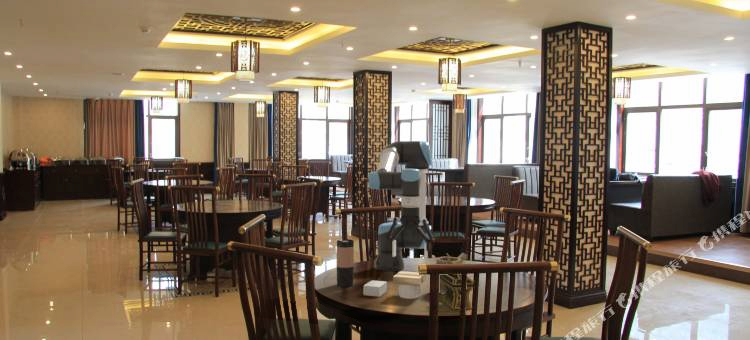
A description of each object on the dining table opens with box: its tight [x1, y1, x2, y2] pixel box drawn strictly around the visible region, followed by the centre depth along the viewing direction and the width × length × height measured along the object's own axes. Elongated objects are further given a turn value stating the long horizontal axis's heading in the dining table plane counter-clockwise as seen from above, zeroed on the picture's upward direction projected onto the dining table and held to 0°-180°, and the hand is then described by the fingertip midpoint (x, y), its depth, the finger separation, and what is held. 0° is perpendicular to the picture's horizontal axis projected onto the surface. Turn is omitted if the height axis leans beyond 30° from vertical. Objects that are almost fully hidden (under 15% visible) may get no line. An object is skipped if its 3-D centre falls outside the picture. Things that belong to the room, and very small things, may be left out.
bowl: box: [398, 284, 421, 300], centre depth 233 cm, size 9×9×6 cm
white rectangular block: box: [363, 279, 388, 298], centre depth 238 cm, size 10×7×4 cm
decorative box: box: [440, 252, 474, 310], centre depth 222 cm, size 20×10×20 cm, turn 13°
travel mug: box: [336, 238, 355, 288], centre depth 251 cm, size 8×8×20 cm
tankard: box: [435, 252, 468, 294], centre depth 244 cm, size 20×13×15 cm, turn 136°
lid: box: [392, 270, 427, 287], centre depth 233 cm, size 11×11×3 cm
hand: (409, 257), depth 233 cm, fingers open, 13 cm apart
